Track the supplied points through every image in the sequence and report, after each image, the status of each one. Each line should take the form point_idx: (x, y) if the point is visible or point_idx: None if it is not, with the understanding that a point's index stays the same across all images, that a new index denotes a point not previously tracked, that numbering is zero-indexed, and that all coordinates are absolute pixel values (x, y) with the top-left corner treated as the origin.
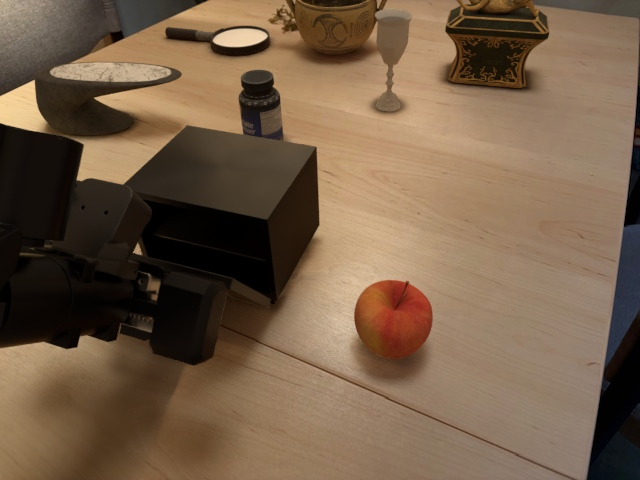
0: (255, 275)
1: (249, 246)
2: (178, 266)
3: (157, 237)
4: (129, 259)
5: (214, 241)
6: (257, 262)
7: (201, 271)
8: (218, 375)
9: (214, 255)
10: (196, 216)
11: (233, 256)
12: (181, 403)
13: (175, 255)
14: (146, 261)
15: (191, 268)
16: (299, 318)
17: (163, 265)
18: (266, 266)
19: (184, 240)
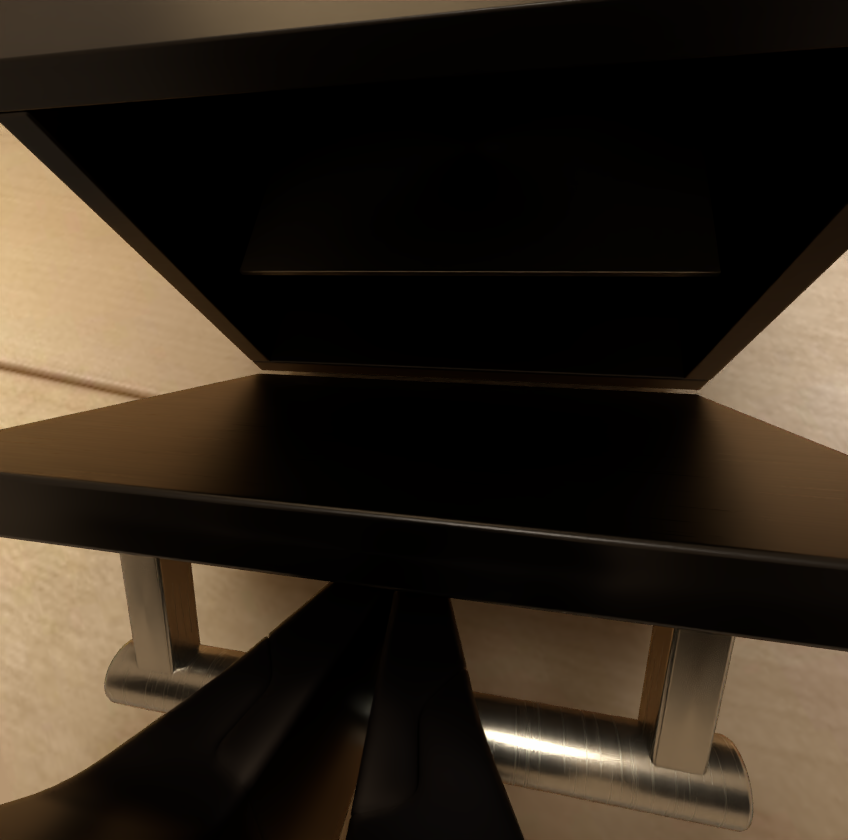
0: (597, 322)
1: (597, 232)
2: (570, 550)
3: (257, 277)
4: (171, 540)
5: (460, 245)
6: (578, 277)
7: (813, 571)
8: (610, 666)
9: (438, 287)
10: (352, 172)
11: (495, 276)
12: (549, 800)
13: (327, 315)
14: (294, 540)
15: (699, 554)
16: (742, 412)
17: (438, 556)
18: (759, 302)
19: (355, 268)
